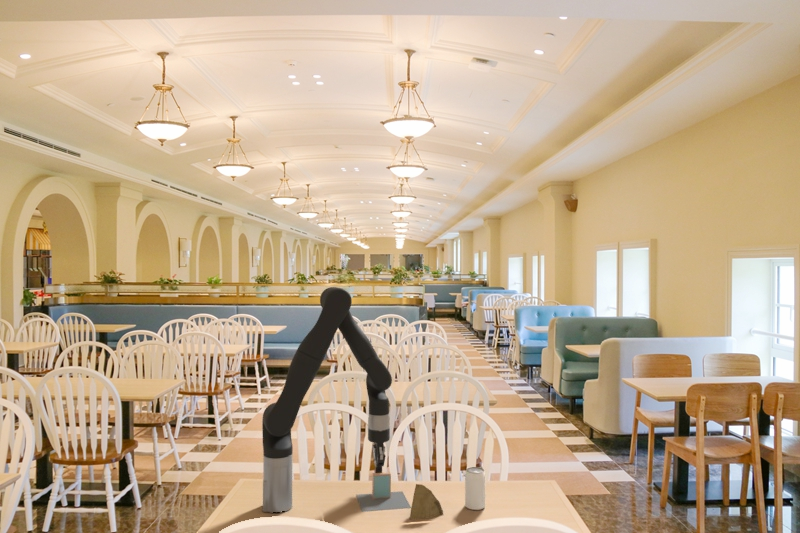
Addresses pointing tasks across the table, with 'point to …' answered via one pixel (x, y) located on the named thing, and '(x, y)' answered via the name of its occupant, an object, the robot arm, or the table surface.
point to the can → (475, 488)
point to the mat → (382, 502)
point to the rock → (424, 504)
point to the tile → (381, 485)
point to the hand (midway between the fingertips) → (378, 476)
